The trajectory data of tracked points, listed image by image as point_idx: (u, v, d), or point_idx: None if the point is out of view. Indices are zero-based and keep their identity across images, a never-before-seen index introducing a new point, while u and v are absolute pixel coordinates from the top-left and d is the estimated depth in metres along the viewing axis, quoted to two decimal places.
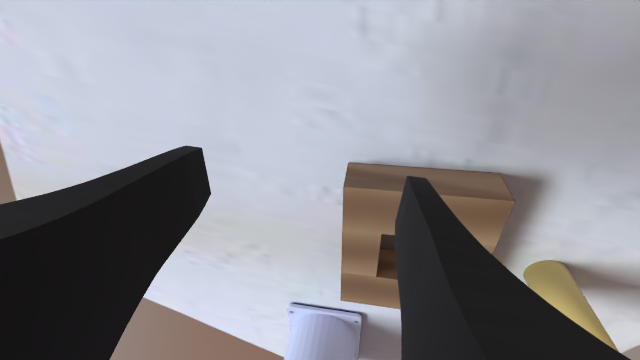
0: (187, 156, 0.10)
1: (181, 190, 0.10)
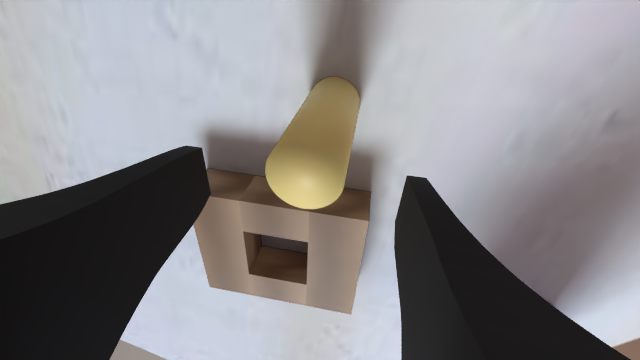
0: (187, 156, 0.10)
1: (181, 190, 0.10)
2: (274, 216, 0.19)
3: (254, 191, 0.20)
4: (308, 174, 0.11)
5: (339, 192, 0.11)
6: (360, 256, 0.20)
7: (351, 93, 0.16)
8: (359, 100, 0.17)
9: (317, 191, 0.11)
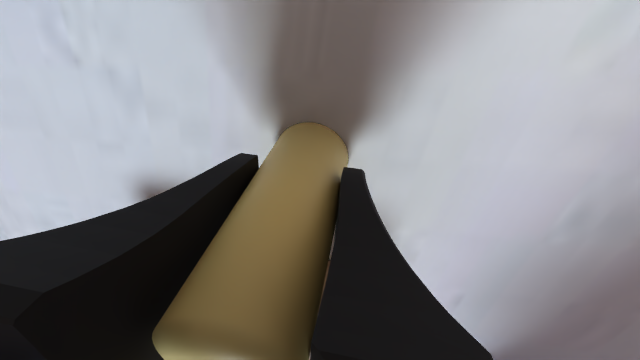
0: (247, 164, 0.09)
1: None
2: None
3: None
4: None
5: None
6: None
7: (333, 152, 0.10)
8: (346, 156, 0.12)
9: None
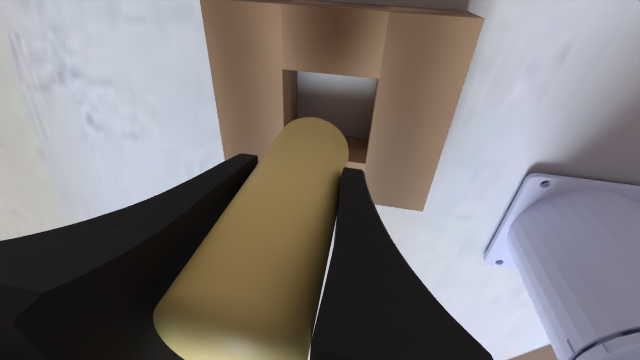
0: (247, 164, 0.09)
1: None
2: (332, 31, 0.13)
3: (300, 3, 0.14)
4: (236, 342, 0.06)
5: None
6: (456, 97, 0.14)
7: (335, 146, 0.10)
8: (347, 152, 0.12)
9: None
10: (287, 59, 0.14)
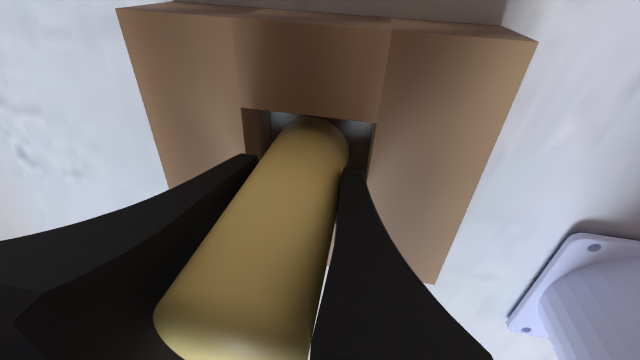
0: (247, 164, 0.09)
1: None
2: (308, 57, 0.09)
3: (264, 15, 0.10)
4: (236, 342, 0.06)
5: None
6: (487, 151, 0.09)
7: (335, 146, 0.10)
8: (347, 152, 0.12)
9: None
10: (246, 94, 0.10)
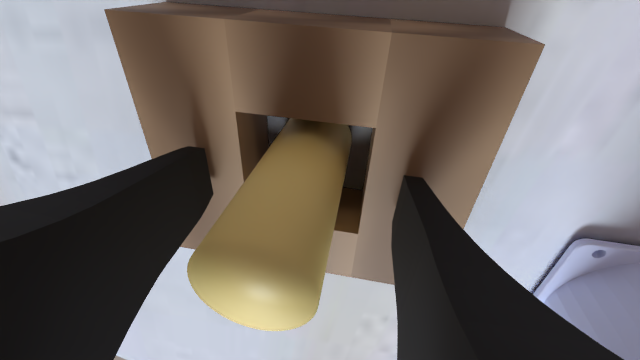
0: (190, 156, 0.10)
1: (184, 191, 0.10)
2: (304, 60, 0.09)
3: (259, 16, 0.09)
4: (258, 288, 0.07)
5: (309, 316, 0.07)
6: (491, 157, 0.09)
7: (340, 132, 0.11)
8: (350, 138, 0.13)
9: (273, 310, 0.07)
10: (241, 98, 0.10)
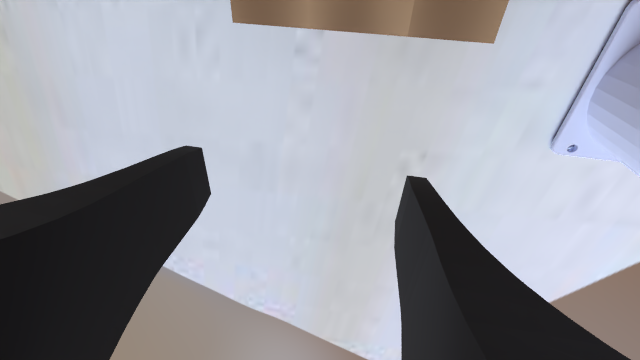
0: (187, 156, 0.10)
1: (181, 190, 0.10)
2: None
3: None
4: None
5: None
6: None
7: None
8: None
9: None
10: None
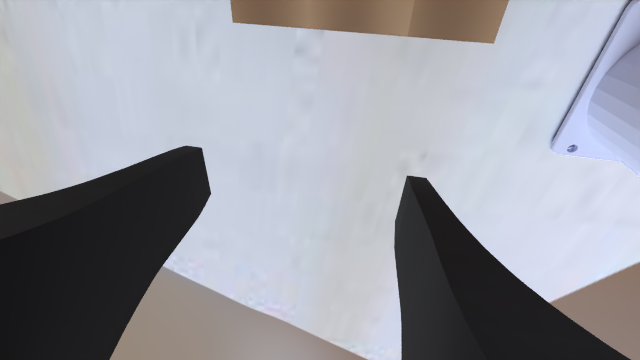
0: (187, 156, 0.10)
1: (181, 190, 0.10)
2: None
3: None
4: None
5: None
6: None
7: None
8: None
9: None
10: None
